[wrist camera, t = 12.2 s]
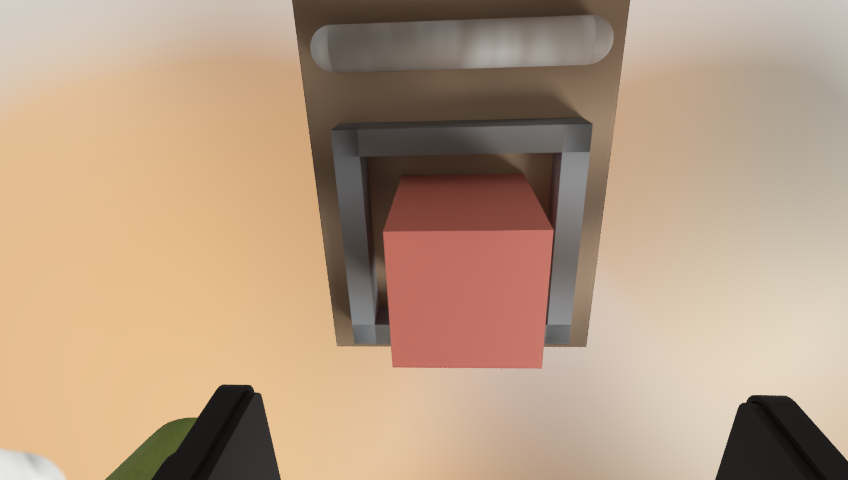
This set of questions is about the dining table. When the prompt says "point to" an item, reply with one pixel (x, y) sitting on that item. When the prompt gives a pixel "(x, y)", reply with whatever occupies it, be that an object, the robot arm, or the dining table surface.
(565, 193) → the board
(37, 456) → the dining table surface
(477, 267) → the red block
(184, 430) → the plant pot
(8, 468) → the dining table surface
